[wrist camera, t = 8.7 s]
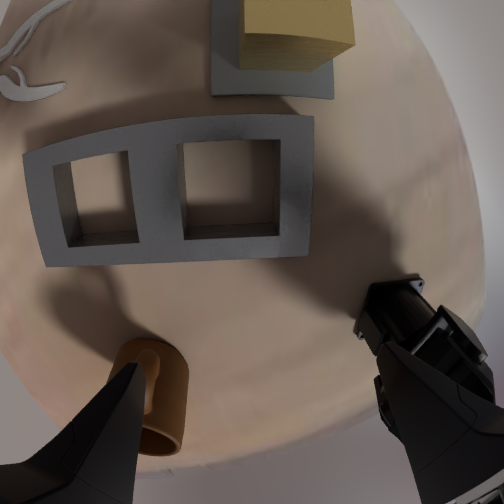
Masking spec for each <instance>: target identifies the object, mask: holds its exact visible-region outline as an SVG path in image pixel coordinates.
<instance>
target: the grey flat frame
mask: <svg viewBox="0 0 504 504" xmlns="http://www.w3.org/2000/svg"><path fill="white" fill-rule="evenodd" d="M246 139H274V223H259V224H235V225H214V226H195V227H189V218H188V208H187V196H186V183H185V169H184V153H183V143H190V142H203V141H219V140H246ZM125 150H128V160H129V170H130V180H131V188H132V196H133V204H134V211H135V217H136V223H137V230H134V231H121V232H109V233H97V234H86V235H83V234H82V229H81V225H80V220H79V215H78V210H77V204H76V199H75V192H74V186H73V179H72V171H71V163H70V161H75V160H79V159H83V158H88V157H93V156H98V155H103V154H108V153H114V152H119V151H125ZM22 155H23V165H24V173H25V180H26V187H27V193H28V199H29V204H30V209H31V214H32V218H33V223H34V227H35V231H36V235H37V238H38V242H39V246H40V249H41V253H42V256H43V259H44V262H45V265H46V267H67V266H95V265H121V264H146V263H169V262H192V261H214V260H236V259H256V258H276V257H296V256H308V255H309V242H310V228H311V211H312V192H313V166H314V116H305V115H285V114H233V115H212V116H198V117H187V118H177V119H169V120H161V121H154V122H147V123H141V124H135V125H129V126H123V127H118V128H113V129H108V130H104V131H99V132H95V133H91V134H87V135H83V136H79V137H75V138H72V139H68V140H64V141H61V142H58V143H54V144H51V145H48V146H45V147H42V148H39V149H36V150H33V151H30V152H27V153H25V154H22Z"/></svg>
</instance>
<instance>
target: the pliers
mask: <svg viewBox="0 0 504 504" xmlns="http://www.w3.org/2000/svg"><path fill="white" fill-rule="evenodd" d="M71 1H73V0H54V1H53V2H51V3H49V4H47V5H46V6H44V7H43V8H41V9H40V10H38V11H37V12H36V13H35V14H33V15H32V16H31V17H30V18H29V19H27V20H26V21H25V22H24V23H23V24H22V25H21V26H20V27H19V29H18V30H17V31H16V32H15V33H14V35H13V36H12V37H11V39H10V40H9V42H8V43H7V45H5V46H4V47H2V48H1V49H0V62H2V61H3V60H4V59H5V58H7V57H8V56H9V55H10V54H11V53H12V51H13V50H14V49H15V47H16V46H17V44H18V43H19V42H20V40H21V39H22V38H23V37H24V35H25V34H26V33H27V32H28V31H29V33H28V34H27V36H26V38H25V39H24V41H23V42H22V44H21V45H20V46H19V48H18V49H17V50H16V51H15V52H14V54H13V55H14V56H16V55H17V54H18V53H19V52H20V51H21V50H22V48H23V47H24V46H25V45H26V43H27V42H28V40H29V39H30V37H31V36H32V34H33V32H34V30H35V29H36V27H37V25H38V24H39V22H40V21H41V19H43V18H44V17H46V16H47V15H48V14H50V13H51V12H53V11H54V10H56V9H58V8H59V7H61V6H63V5H65V4H67V3H69V2H71ZM11 69H13V70H15V71H16V72H17V73H18V75H19V77H20V86H19V85H17V84H16V83H14V82H13V81H12V80H11V79H10V78H9V77H8V75H1V76H0V92H1V93H2V94H3V96H4V97H6V98H8V99H10V100H14V101H34V100H39V99H43V98H46V97H49V96H51V95H53V94H56V93H58V92H60V91H62V90H64V89H65V88H66V83H59V84H54V85H48V86H42V87H28V85H27V83H26V79H25V75H24V73H23V71H22V70H21V69H19V68H18V67H16V66H11Z"/></svg>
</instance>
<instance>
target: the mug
mask: <svg viewBox="0 0 504 504" xmlns="http://www.w3.org/2000/svg"><path fill="white" fill-rule="evenodd" d="M127 362H139V363H140V365H141V367H142V370H143V372H144V374H145V377H146V390H145V405H144V418H143V425H142V431H141V437H140V443H139V450H138V453H139V454H143V455H149V456H171V455H174V454H176V453H178V452H179V451H180V449H181V446H182V439H183V434H184V427H185V415H186V404H187V391H188V381H189V369H188V365H187V362H186V361H185V359H184V357H183V356H182V355H181V354H180V353H179V352H178V351H177V350H175V349H174V348H172V347H171V346H169V345H167V344H165V343H162V342H159V341H156V340H151V339H136V340H132V341H130V342H128V343H126V344H125V345H123V346H122V348H121V349H120V351H119V352H118V354H117V357H116V359H115V362H114V365H113V367H112V370H111V372H110V375H109V378H108V380H107V383H108V382H109V381H110V380H111V379H112V378H113V377H114V376H115V375H116V374H117V373H118V372H119V370H120V369H121V368H122V367H123V366H124V365H125V364H126V363H127ZM107 383H106V384H107Z"/></svg>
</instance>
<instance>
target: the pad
mask: <svg viewBox="0 0 504 504" xmlns="http://www.w3.org/2000/svg"><path fill="white" fill-rule="evenodd" d="M238 9H239V0H212V6H211V96H212V97H213V96H235V95H274V96H296V97H310V98H321V99H330V100H331V99H334V75H333V59H331V60H329V61H328V62H326V63H325V64H323V65H322V66H320V67H318V68H317V69H315V70H314V71H312V72H311V73H305V72H293V71H276V70H239V45H238Z"/></svg>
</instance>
